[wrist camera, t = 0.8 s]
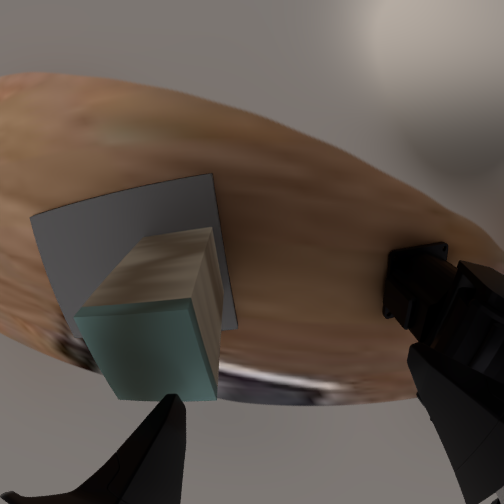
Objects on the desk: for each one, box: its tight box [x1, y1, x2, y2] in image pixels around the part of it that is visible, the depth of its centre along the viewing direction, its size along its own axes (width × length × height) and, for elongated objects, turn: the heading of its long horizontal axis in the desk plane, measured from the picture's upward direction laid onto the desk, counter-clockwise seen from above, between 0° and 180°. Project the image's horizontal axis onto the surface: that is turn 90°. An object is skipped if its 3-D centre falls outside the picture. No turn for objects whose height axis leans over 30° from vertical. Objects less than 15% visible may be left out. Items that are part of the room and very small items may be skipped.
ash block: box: [73, 227, 224, 401], centre depth 15 cm, size 5×5×10 cm
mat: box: [30, 173, 238, 338], centre depth 20 cm, size 16×12×1 cm
